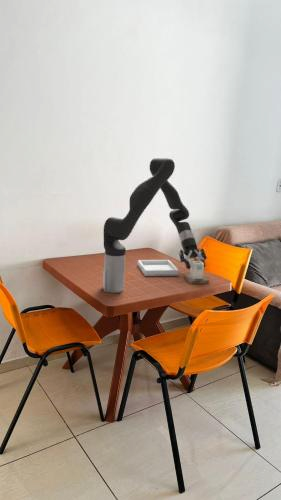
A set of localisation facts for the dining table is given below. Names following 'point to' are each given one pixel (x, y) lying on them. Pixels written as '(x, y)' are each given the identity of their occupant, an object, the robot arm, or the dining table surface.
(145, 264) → the tray
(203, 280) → the stake base
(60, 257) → the dining table surface
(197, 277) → the sleeve
